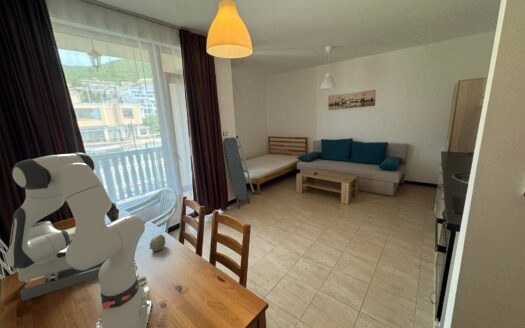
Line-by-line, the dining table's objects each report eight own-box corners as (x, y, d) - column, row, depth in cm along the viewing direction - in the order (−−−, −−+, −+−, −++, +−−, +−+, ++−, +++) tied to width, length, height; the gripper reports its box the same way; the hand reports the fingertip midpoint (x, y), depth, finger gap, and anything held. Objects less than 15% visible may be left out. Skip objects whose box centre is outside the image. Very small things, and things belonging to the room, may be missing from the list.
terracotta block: (46, 289, 95) (43, 280, 94) (27, 294, 92) (25, 286, 91) (51, 280, 100) (48, 272, 99) (33, 286, 97) (31, 277, 96)
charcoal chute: (112, 272, 106) (110, 265, 105) (22, 300, 90) (19, 292, 90) (114, 263, 114) (112, 255, 113) (31, 287, 98) (29, 279, 97)
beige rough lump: (163, 248, 130) (165, 232, 131) (166, 252, 123) (169, 235, 124) (146, 249, 124) (149, 233, 125) (149, 254, 117) (152, 236, 119)
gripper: (10, 266, 88) (19, 294, 91) (73, 251, 98) (79, 276, 100) (18, 258, 93) (26, 284, 96) (76, 244, 103) (82, 268, 106)
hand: (53, 280), depth 98 cm, fingers closed
